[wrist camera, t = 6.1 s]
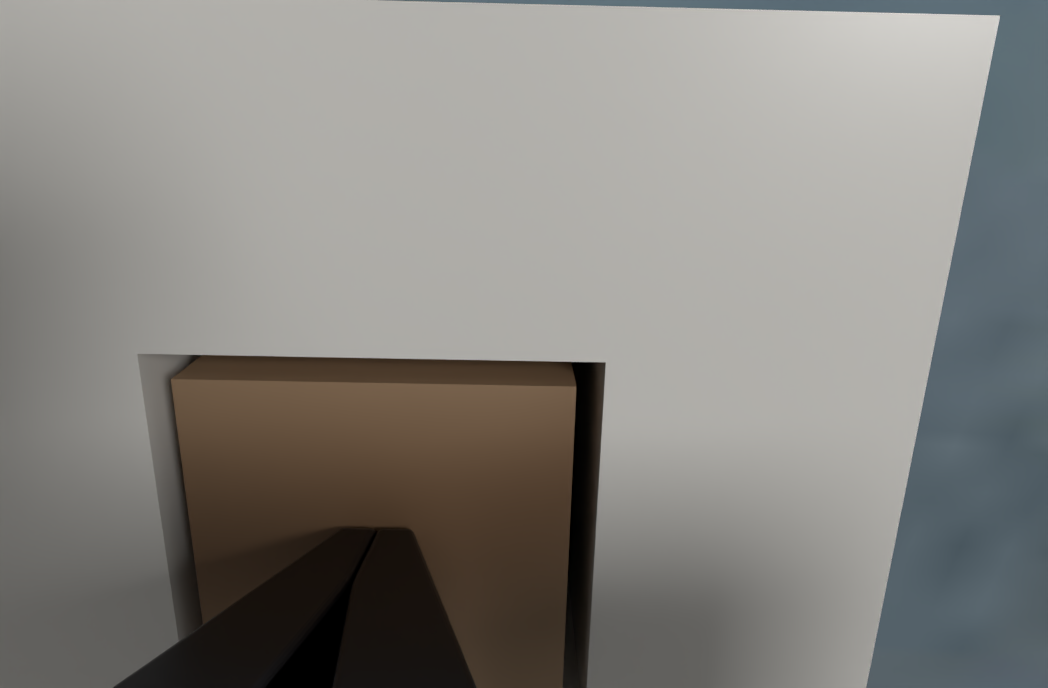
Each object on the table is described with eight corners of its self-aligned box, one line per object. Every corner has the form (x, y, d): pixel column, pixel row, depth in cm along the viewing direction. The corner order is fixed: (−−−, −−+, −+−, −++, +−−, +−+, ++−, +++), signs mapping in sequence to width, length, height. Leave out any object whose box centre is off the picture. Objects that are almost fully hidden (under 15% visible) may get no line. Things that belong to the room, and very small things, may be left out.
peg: (546, 497, 15) (561, 710, 9) (322, 494, 14) (213, 705, 9) (554, 278, 13) (576, 387, 8) (307, 273, 13) (170, 379, 8)
